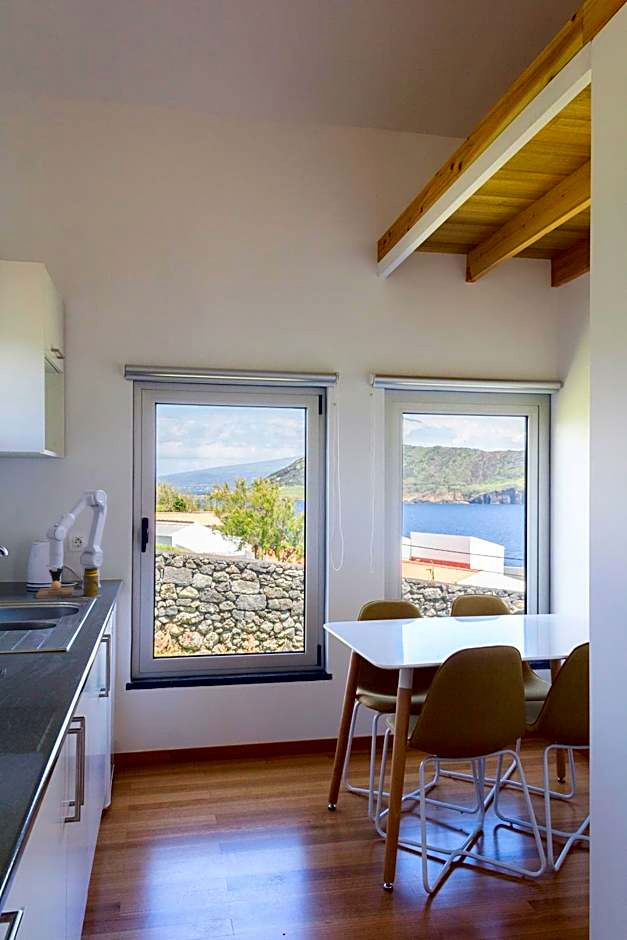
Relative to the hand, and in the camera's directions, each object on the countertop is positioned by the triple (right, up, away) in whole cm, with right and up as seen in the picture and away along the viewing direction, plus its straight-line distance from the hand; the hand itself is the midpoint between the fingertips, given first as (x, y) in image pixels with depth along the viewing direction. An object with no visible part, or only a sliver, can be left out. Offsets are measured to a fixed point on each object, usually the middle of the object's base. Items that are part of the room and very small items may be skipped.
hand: (55, 585), depth 345 cm
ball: (+1, 0, -1) cm, 2 cm away
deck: (+1, -3, -4) cm, 5 cm away
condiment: (+17, -4, -8) cm, 19 cm away
